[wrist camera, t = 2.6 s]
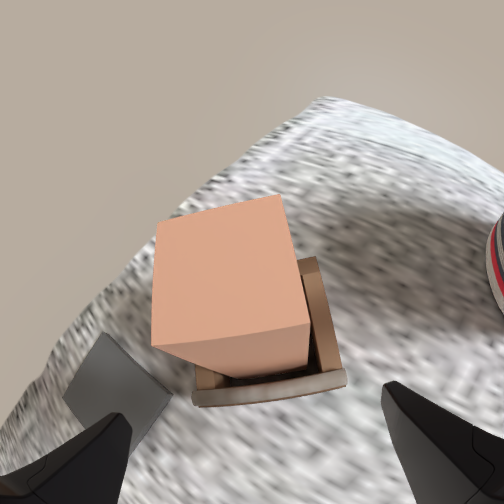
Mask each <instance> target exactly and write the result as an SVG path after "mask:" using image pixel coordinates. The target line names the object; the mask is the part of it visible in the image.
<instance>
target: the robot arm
mask: <svg viewBox="0 0 504 504" xmlns="http://www.w3.org/2000/svg"><path fill="white" fill-rule="evenodd" d="M381 406H382V410H383V413H384V416H385V419H386V423H387V426H388V430H389V433H390V437H391V440H392V443H393V446H394V449H395V451H396V453H397V456H398V458H399V460H400V463H401V465H402V467H403V470H404V472H405V475H406V477H407V480H408V482H409V485H410V487H411V490H412V492H413V495H414V497H415V500H416V503H417V504H504V439H502V438H500V437H497V436H494V435H492V434H490V433H488V432H486V431H484V430H482V429H480V428H478V427H476V426H473V425H472V424H471V423H469V422H467V421H465V420H463V419H461V418H460V417H458V416H456V415H454V414H452V413H451V412H449V411H447V410H445V409H444V408H442V407H440V406H438V405H437V404H435V403H433V402H431V401H430V400H428V399H426V398H424V397H423V396H421V395H419V394H417V393H416V392H414V391H412V390H411V389H409V388H407V387H406V386H404V385H402V384H401V383H399V382H397V381H391V382H388V383H385V384H384V385H383V387H382V396H381ZM132 433H133V430H132V426H131V425H130V424H129V422H128V421H127V419H126V418H125V416H124V415H123V414H122V413H120V412H111V413H109V414H108V415H106V416H105V417H103V418H102V419H101V420H99V421H98V422H96V423H95V424H93V425H92V426H90V427H89V428H87V429H86V430H84V431H83V432H81V433H80V434H78V435H77V436H75V437H74V438H72V439H70V440H69V441H67V442H66V443H64V444H63V445H61V446H59V447H58V448H56V449H55V450H53V451H52V452H50V453H48V454H47V455H45V456H43V457H42V458H40V459H38V460H37V461H35V462H33V463H31V464H29V465H27V466H25V467H23V468H21V469H18V470H16V471H14V472H12V473H9V474H7V475H4V476H0V504H117V503H118V498H119V494H120V490H121V486H122V482H123V479H124V475H125V471H126V467H127V463H128V457H129V451H130V445H131V439H132Z"/></svg>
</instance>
